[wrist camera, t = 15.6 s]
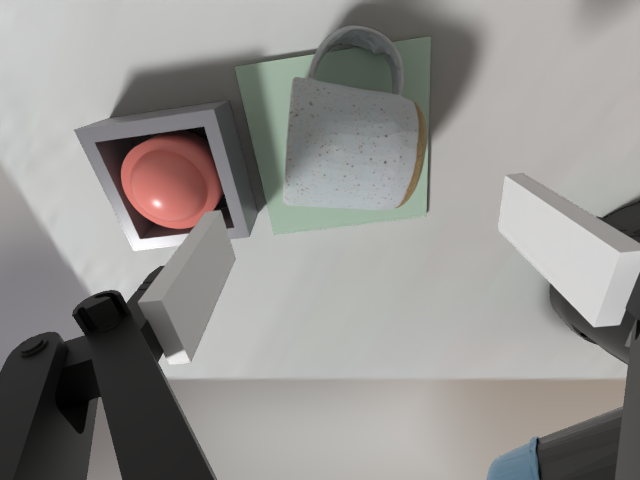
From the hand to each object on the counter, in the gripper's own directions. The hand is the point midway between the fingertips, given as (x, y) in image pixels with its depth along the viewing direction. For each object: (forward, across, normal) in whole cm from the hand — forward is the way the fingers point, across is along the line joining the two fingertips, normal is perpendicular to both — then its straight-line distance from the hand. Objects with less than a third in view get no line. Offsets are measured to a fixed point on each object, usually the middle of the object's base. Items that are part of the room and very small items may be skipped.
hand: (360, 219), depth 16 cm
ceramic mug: (+11, 0, -3) cm, 11 cm away
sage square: (+11, 0, -1) cm, 11 cm away
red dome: (+10, +12, -1) cm, 16 cm away
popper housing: (+11, +12, -1) cm, 17 cm away
